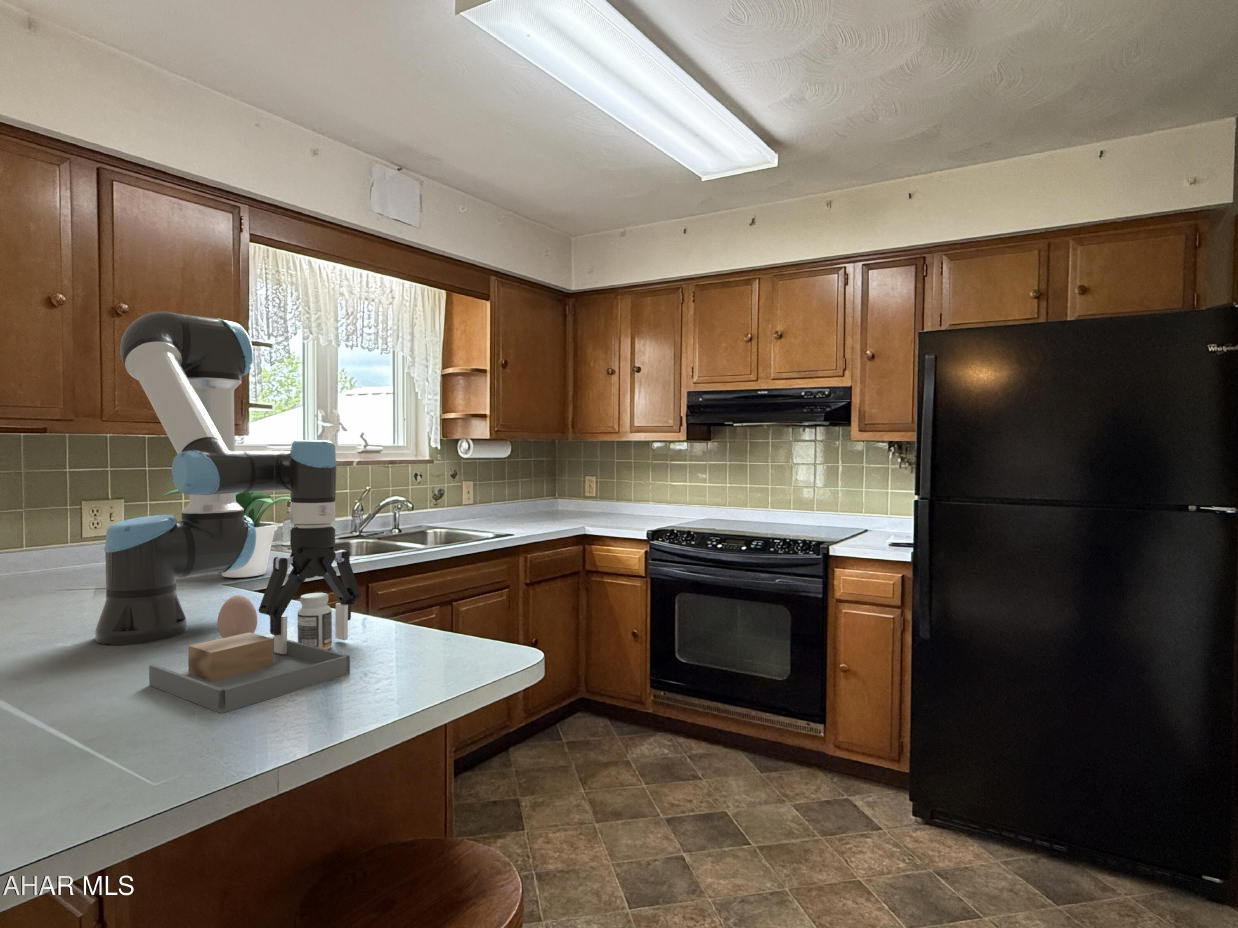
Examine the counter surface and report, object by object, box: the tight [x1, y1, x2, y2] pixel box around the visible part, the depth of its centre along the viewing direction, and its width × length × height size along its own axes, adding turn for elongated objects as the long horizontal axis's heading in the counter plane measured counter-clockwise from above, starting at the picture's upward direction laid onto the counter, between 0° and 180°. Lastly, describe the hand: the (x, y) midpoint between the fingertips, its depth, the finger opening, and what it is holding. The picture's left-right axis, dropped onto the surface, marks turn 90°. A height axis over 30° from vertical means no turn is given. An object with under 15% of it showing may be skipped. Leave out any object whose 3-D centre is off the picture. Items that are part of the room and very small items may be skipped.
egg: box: [216, 594, 258, 638], centre depth 136 cm, size 7×7×9 cm
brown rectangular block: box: [187, 632, 273, 682], centre depth 118 cm, size 7×10×4 cm
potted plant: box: [160, 488, 291, 578], centre depth 207 cm, size 32×35×26 cm
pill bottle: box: [297, 592, 333, 650], centre depth 132 cm, size 6×6×10 cm
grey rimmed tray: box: [148, 636, 351, 714], centre depth 115 cm, size 21×21×3 cm
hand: (312, 645), depth 132 cm, fingers open, 11 cm apart
